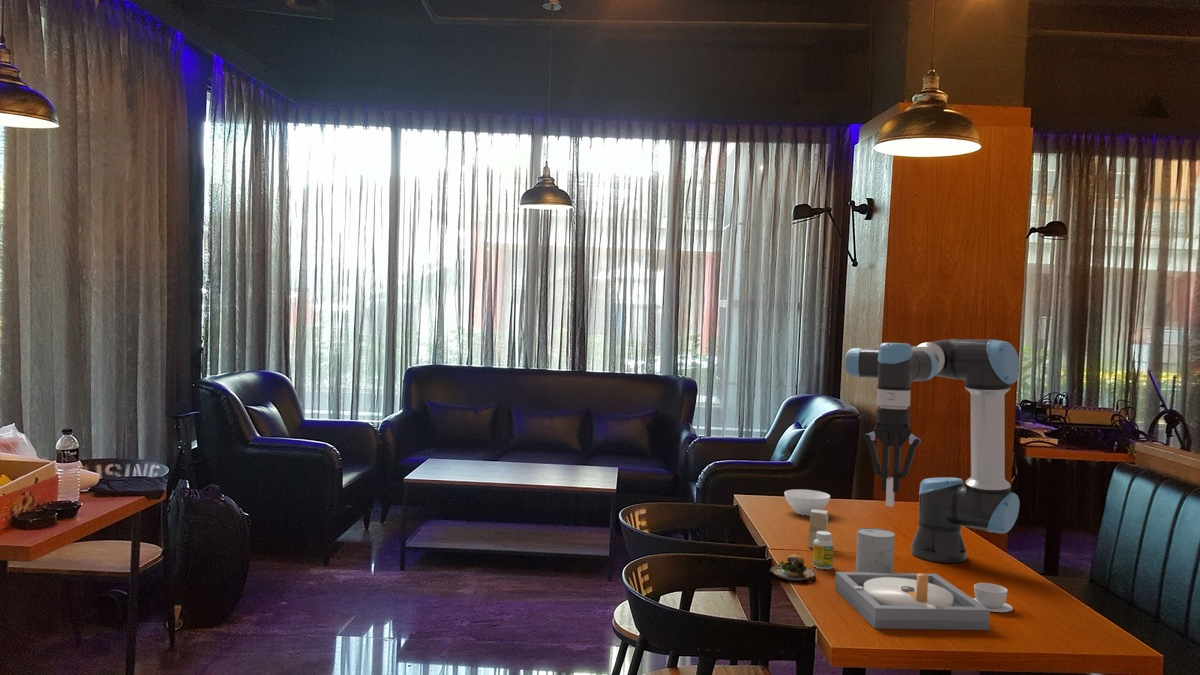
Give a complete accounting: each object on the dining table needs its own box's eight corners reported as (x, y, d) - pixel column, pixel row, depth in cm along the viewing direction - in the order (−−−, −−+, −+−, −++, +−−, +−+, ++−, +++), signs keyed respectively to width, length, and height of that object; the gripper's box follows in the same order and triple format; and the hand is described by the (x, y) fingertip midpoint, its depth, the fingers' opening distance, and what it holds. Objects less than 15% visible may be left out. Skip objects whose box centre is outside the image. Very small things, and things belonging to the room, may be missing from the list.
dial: (850, 584, 201) (851, 553, 201) (927, 585, 203) (928, 553, 202) (884, 613, 181) (886, 578, 181) (970, 614, 183) (971, 579, 182)
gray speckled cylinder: (892, 575, 218) (894, 530, 218) (893, 585, 209) (895, 538, 209) (855, 570, 221) (857, 526, 221) (854, 580, 212) (856, 534, 212)
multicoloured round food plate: (761, 573, 217) (762, 545, 217) (797, 569, 222) (798, 542, 222) (788, 587, 206) (789, 558, 206) (825, 582, 211) (826, 554, 211)
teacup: (1011, 617, 189) (1011, 597, 189) (964, 608, 194) (965, 589, 194) (1014, 605, 197) (1015, 586, 197) (970, 596, 202) (970, 578, 202)
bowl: (785, 517, 281) (785, 497, 281) (782, 507, 297) (783, 488, 297) (832, 520, 279) (832, 500, 279) (826, 510, 295) (827, 491, 294)
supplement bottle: (821, 563, 227) (822, 529, 227) (836, 568, 223) (838, 533, 222) (808, 565, 224) (809, 531, 224) (823, 571, 220) (824, 536, 219)
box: (807, 547, 243) (809, 511, 242) (809, 544, 247) (811, 508, 246) (825, 550, 241) (827, 513, 240) (827, 546, 245) (828, 510, 244)
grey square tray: (935, 591, 205) (935, 572, 205) (988, 630, 179) (989, 608, 179) (835, 589, 204) (835, 570, 204) (874, 628, 178) (875, 606, 178)
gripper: (862, 406, 192) (858, 504, 193) (920, 410, 186) (916, 512, 186) (868, 404, 199) (864, 498, 199) (924, 407, 193) (920, 505, 193)
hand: (889, 505), depth 193 cm, fingers closed
